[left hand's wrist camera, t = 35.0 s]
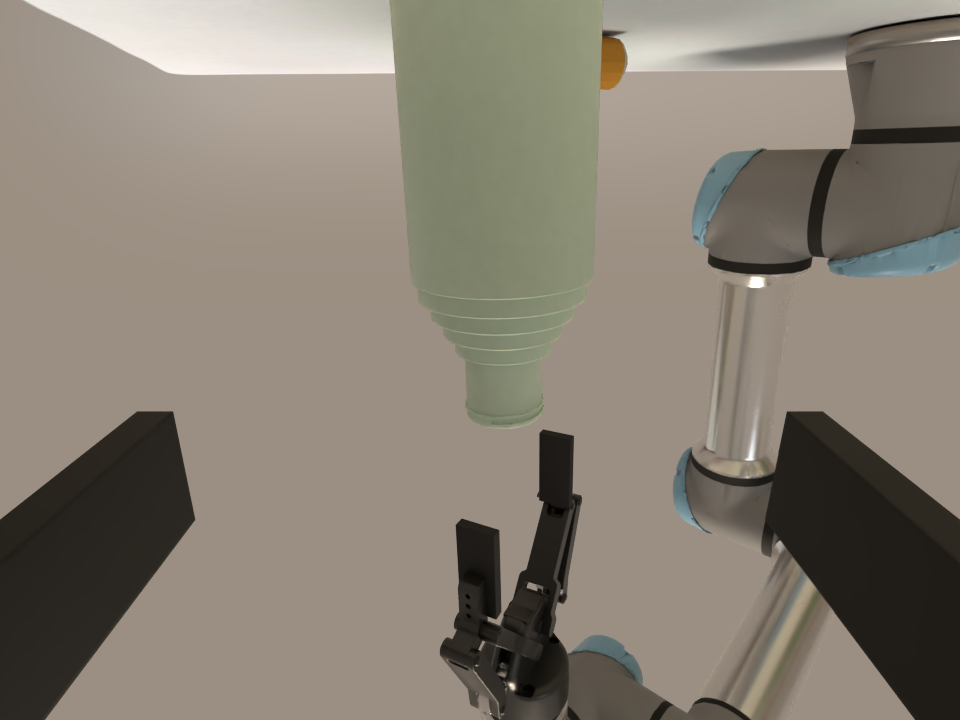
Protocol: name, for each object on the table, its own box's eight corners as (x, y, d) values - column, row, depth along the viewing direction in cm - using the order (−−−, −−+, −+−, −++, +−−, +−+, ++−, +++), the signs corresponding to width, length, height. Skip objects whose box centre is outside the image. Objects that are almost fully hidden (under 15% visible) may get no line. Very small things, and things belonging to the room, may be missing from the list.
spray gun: (606, 48, 64) (469, 47, 63) (655, 33, 49) (476, 30, 48) (602, 91, 66) (469, 90, 65) (648, 89, 50) (476, 88, 50)
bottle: (613, -154, 18) (592, 385, 25) (419, -126, 20) (448, 376, 26) (606, -290, 12) (582, 461, 19) (333, -235, 14) (397, 445, 20)
